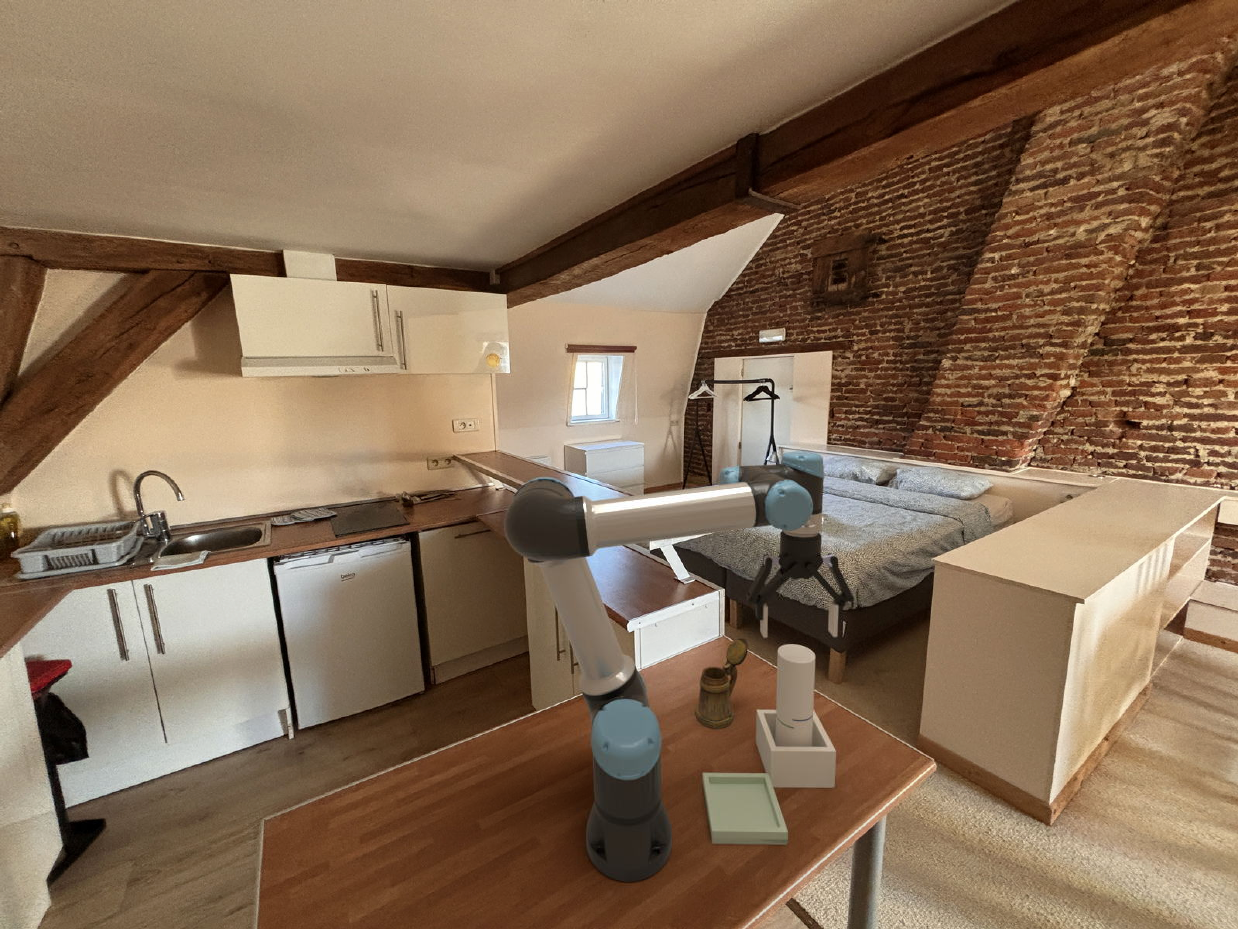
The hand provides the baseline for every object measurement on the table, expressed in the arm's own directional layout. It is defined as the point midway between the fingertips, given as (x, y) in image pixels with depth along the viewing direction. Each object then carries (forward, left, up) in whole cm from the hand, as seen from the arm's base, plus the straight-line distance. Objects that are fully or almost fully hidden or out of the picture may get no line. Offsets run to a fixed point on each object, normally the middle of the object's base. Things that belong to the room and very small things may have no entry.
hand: (798, 634), depth 98 cm
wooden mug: (-12, +16, -29) cm, 36 cm away
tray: (-13, -12, -29) cm, 34 cm away
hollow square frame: (0, 0, -29) cm, 29 cm away
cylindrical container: (0, 0, -29) cm, 29 cm away
